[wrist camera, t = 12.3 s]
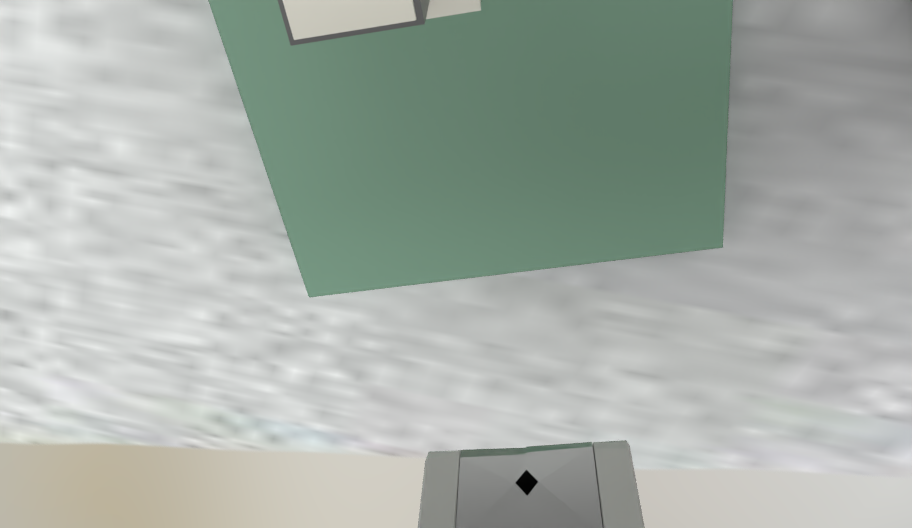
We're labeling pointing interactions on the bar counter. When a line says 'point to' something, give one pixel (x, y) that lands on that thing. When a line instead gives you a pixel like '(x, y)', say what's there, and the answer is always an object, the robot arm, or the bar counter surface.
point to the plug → (347, 17)
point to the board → (490, 136)
